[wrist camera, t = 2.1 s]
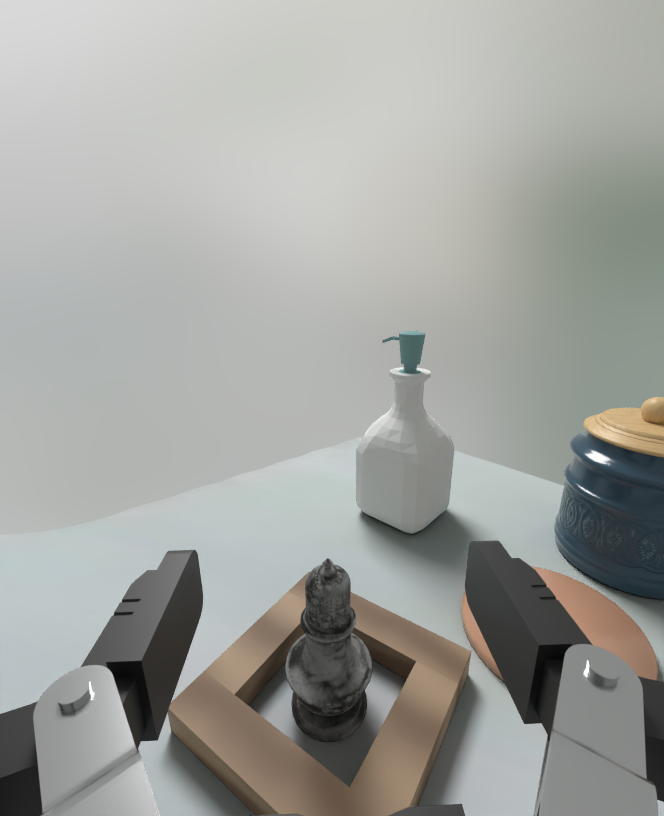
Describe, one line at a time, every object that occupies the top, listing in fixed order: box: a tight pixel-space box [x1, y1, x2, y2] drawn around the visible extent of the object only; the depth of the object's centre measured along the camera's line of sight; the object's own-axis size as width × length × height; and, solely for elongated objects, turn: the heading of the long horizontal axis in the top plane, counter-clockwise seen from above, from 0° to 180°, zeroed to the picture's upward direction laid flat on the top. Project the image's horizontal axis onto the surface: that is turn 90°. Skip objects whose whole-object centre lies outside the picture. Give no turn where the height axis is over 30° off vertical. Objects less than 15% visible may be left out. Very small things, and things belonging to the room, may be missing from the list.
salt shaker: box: [285, 558, 372, 742], centre depth 26 cm, size 6×6×12 cm
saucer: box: [462, 567, 658, 681], centre depth 33 cm, size 14×14×1 cm
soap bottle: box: [356, 331, 454, 534], centre depth 47 cm, size 10×10×23 cm
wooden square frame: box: [168, 572, 471, 816], centre depth 28 cm, size 15×15×2 cm
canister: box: [555, 397, 664, 599], centre depth 40 cm, size 13×13×18 cm
